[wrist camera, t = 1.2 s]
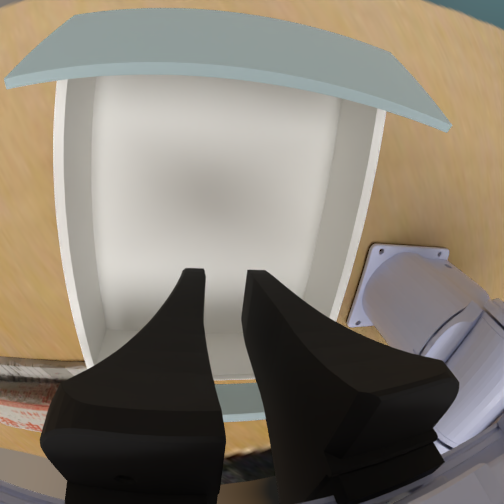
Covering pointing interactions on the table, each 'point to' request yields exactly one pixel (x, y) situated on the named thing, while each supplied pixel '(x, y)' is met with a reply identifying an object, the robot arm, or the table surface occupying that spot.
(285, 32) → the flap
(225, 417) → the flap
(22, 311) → the table surface
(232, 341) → the carton
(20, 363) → the packaged product
